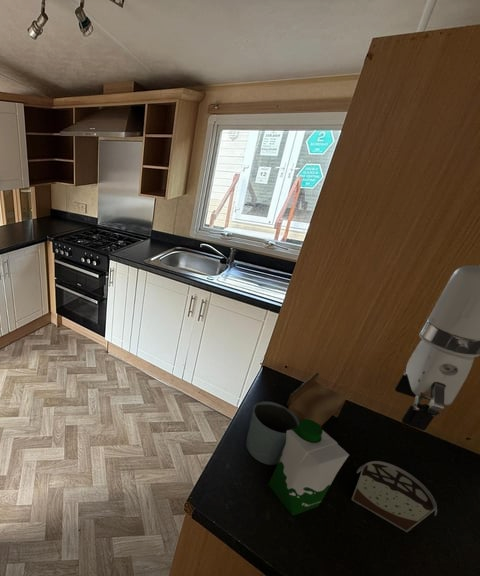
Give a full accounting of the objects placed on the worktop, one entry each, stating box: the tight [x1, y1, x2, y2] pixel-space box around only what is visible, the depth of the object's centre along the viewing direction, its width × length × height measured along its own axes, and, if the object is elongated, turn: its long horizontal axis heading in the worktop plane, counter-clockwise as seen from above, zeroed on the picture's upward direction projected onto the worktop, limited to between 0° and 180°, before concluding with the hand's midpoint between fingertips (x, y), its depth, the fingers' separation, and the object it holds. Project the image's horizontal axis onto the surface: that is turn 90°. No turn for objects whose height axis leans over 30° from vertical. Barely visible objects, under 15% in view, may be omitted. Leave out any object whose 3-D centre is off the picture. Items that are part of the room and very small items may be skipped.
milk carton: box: [267, 419, 350, 517], centre depth 66 cm, size 9×9×20 cm
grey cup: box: [245, 401, 299, 466], centre depth 79 cm, size 10×10×12 cm
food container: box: [350, 460, 438, 533], centre depth 67 cm, size 12×6×10 cm, turn 47°
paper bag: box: [286, 372, 347, 428], centre depth 88 cm, size 9×16×10 cm, turn 125°
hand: (408, 408), depth 61 cm, fingers open, 9 cm apart
